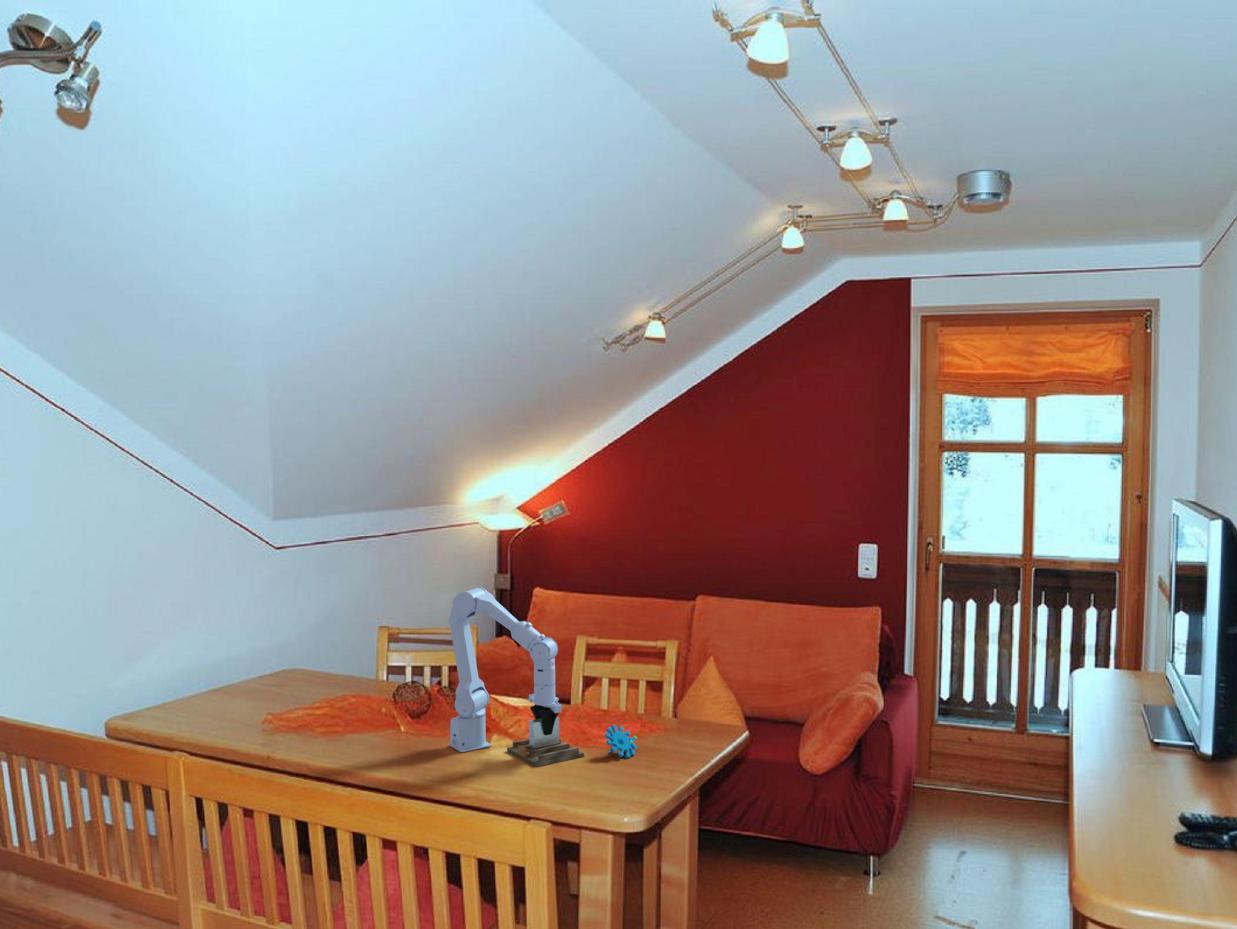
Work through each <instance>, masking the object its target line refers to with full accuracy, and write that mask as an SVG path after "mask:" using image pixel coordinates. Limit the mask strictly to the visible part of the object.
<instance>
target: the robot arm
mask: <svg viewBox="0 0 1237 929" xmlns="http://www.w3.org/2000/svg"><path fill="white" fill-rule="evenodd" d="M451 603H452V607H451V611H450V614H449V617H448V621H449V622H448V623H449V629H450V633H451V640H452V646H453V651H454V659H455V663H456V668H457V677H458V681H459V682H458V685H457V687H456V689H455V701H454V709H455V711H456V713H457V714H458V715H457V716H456V717H455V716H454V717H452V718H451V720H450V722H449V723H450V724H449V734H450V736H449V737H450V738H449V740H450V741H449V742H450V743H449V744H448V745H449V747H451V748H453V749H455V750H457V751H458V752H460V753H464V752H469V751H475V750H480V749H485V748H490V747H492V744H491V743H489V742H487V741H486V738H487V737H486V735H487V734H486V707H487V706H489V703H490V694H489V693H488V691H487V689H486V687H485V682H484V681H483V680H482V679H480V677H479V670H478V667H477V666H478V665H477V659H476V655H475V649H474V643H473V636H472V630H471V625H470V623H471V622H472V620H473V619H474V617H475V616H476V615H488V616H489V617H491V618H492V619H494V620H495V621H496V622H498V623H499V624H501V625H502V626H503V627H505V628H506V629H507V630H509V631H510V635H511V638H512V639H513V640H514V641H516V642H517V643H518V644H519V645H520V646H521V647H522V648H524V649H525V650H526V651H528V652H529V656H530V658H531V660H532V661H533V685H534V686H533V690H534V693H532V694H528V702H529V703H533V704H534V705H533V706H530V707H529V708H530V711H531V712H532V714H533V716H534V720H535V719H540V718H541V719H542V723H543V732H544V735H550V734H552V731H553V727H554V723H555V720H556V718H557V717H558V716H559V714H560V713H562V712H563V711H562V710H563V706H562V704H560V703H559V702H558V701H559V700H560V698H559V697H557V696H556V658H555V657H556V656H557V654H558V653H559V646H558V643H557V642H556V641H555V640H554V638H552V637H549V636H548V637H546V635H545V634H544V633H542V634H541V633H540V632H539V631H538V630H537V629H535V628H534V627H533V624H532V623H531V622H530V621H528V622H527V621H525V620H523V621H522V620H521V621H519V620H518V619H517V618H516V617H515V616H513V615H512V614H511V612H509V611H508V610H507V609H506V607H504V606H503V605H502V604H501V603H499V601H497V600H496V599H495V597H494V595H493V594H492V593H490V592H488V591H487V590H486V588H484V587H481V586H476V587H473V588H472V589H468V590H465V591H461V592H459V593H457V595H456V596H455V597H453V599H452V600H451Z"/></svg>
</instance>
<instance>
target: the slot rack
mask: <svg viewBox="0 0 1237 929" xmlns="http://www.w3.org/2000/svg"><path fill="white" fill-rule="evenodd" d="M506 751H507V753H509V754H511V755H513V756H515V758H516V757H517V758H518V759H520V760H522V761H524V762H526V763H527V764H529V765H531V766H533V767H535V768H539V767H542V766H547V765H553V764H556V763H560V762H566V761H569V760H575V759H579V758H584V757H585V752H583V751H581V750H579V747H577V746H575V747H573V746H571V745H570V743H568V742H562V740H561V739H560V738H559V743H558V744H553V745H548V746H543V747H539V748H532V747H530V746H529V738H526V739H520V740H516V741H512V746H510V747H509V746H508V747H507V748H506Z"/></svg>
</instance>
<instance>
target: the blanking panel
mask: <svg viewBox="0 0 1237 929" xmlns="http://www.w3.org/2000/svg"><path fill="white" fill-rule="evenodd" d="M528 727H529V728H528V734H529V735H528V739H529V746H530V747H532V748H539V747H543V746H548V745H553V744H558V743H559V739H560V717H558V716H557V718H556V720H555V723H554V727H553V731H552V734H550V735H544V732H543V723H542V719H541V718H540V719H535V718H534V719H532V720H531V719H530V720H528Z"/></svg>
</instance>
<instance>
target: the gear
mask: <svg viewBox="0 0 1237 929" xmlns="http://www.w3.org/2000/svg"><path fill="white" fill-rule="evenodd" d="M617 729H618V730H617ZM622 731H624V727H623V726H622V725H620V726H617V725H616V724H612V725H611V726H609V727H607V728H606V729H605V732H606V733H605V734H604V738H605V739H607V740H606V742H605V743H606V746H612V747H611V748H610V749H609V752H610V753H611V754H613V753H615V752H616V751H619V752H617V756H619V757H620V758H622V757H623V756H624V757H625V758H627V759H629V758H631V756H635V754H636V751H635V750H637V748H638V746H637V744H634V743H635V741H636V740H637V739H638V737H637V736H636V735H633V736H632V737H629V736H630V735H631V732H630V731H629V730H626V731H625V732H622ZM624 752H625V754H624Z"/></svg>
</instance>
